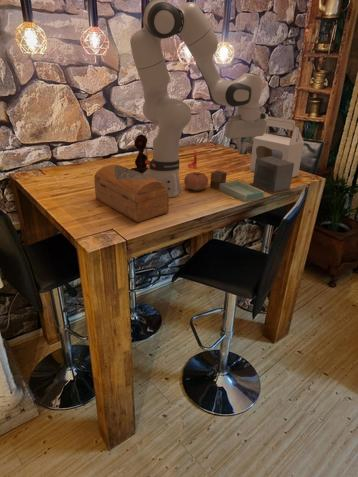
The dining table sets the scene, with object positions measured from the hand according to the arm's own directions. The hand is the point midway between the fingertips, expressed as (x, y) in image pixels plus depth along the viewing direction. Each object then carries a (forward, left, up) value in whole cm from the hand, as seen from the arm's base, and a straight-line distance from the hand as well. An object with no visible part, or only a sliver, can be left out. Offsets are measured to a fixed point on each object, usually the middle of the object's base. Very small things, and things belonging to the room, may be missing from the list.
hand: (243, 147), depth 157 cm
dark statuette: (-34, +35, -19) cm, 52 cm away
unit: (+13, -7, -19) cm, 24 cm away
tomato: (-20, +7, -19) cm, 28 cm away
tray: (-5, -7, -19) cm, 21 cm away
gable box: (+32, +11, -19) cm, 38 cm away
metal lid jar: (0, 0, -3) cm, 3 cm away
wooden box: (-54, +1, -19) cm, 57 cm away
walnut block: (-9, +5, -19) cm, 21 cm away
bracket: (-1, +40, -19) cm, 45 cm away
